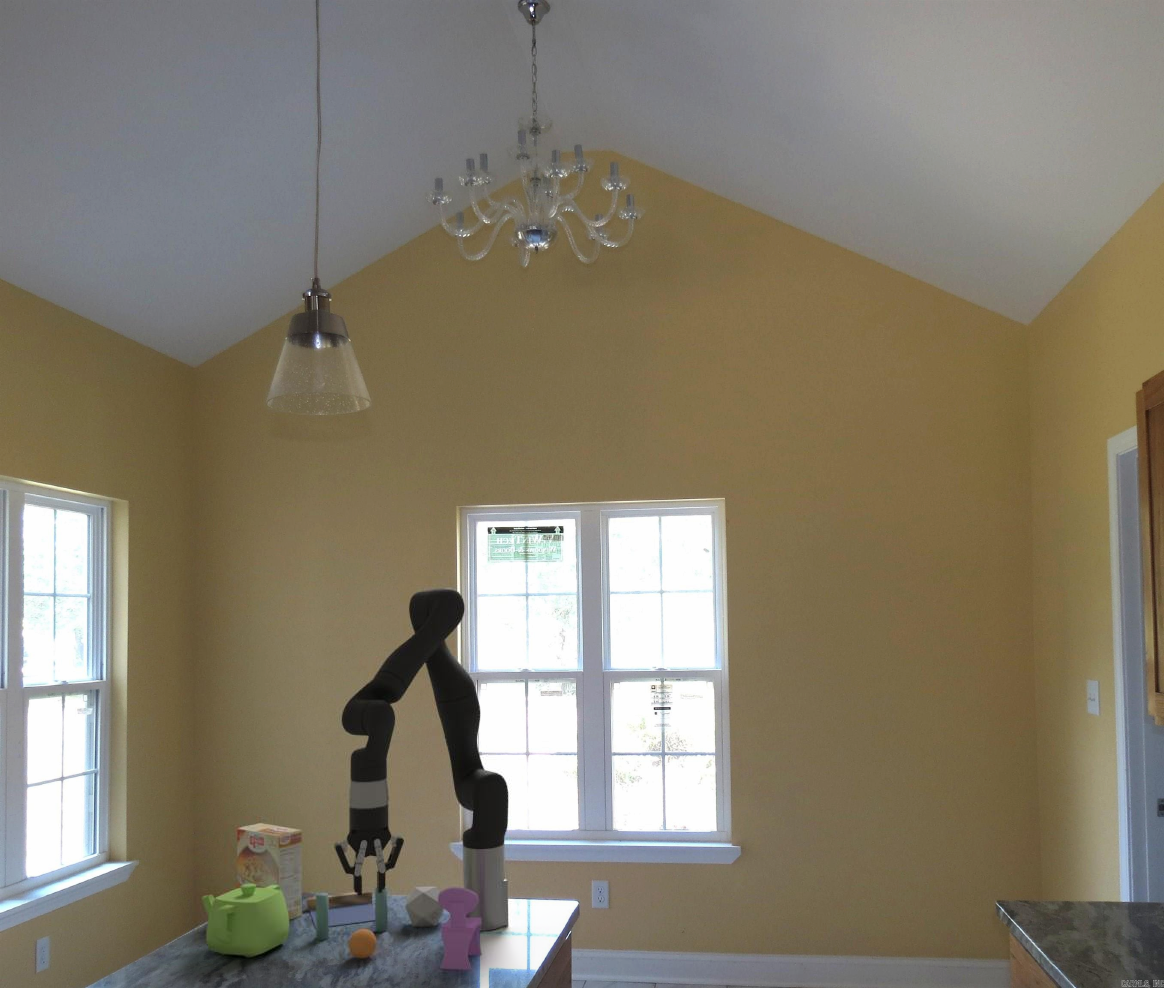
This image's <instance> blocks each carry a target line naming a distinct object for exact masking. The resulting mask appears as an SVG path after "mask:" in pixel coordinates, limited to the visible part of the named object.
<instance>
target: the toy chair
mask: <svg viewBox="0 0 1164 988" xmlns="http://www.w3.org/2000/svg"><path fill="white" fill-rule="evenodd" d="M439 892H440V893H439V895H438V903H439V904H440V906H441V907H443V908H444V910H446V912H448V913H449V915H450V917H449V919H448V920H447V921H446V922H445V923H444V924H443V925H442V926H441V934H440V936H441V940H442V943H443V946H444V954H443V958H442V962H441V964H440V966H439V969H442V970H444V969H445V970H464V971H465V970H466V971H468V970H472V966H471V964H470V960H469V956H483V952H482V949H481V945H480V940H479V939H480V936H479V935H480V929H481V926H482V922H481V917H472V918H466V915H467V914H468V913H470V912H471V911H473V910H474V908H475V907H476V906H477V904H478V901H479V898H478V895H477V894H476V893H475V892H473V891H471V890H469V889H466V888H463V887H461V886H460V887H459V886H458V887H456V886H455V887H449V888H448V887H447V888H445V889H443V890H442V891H439Z"/></svg>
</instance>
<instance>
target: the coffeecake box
mask: <svg viewBox="0 0 1164 988" xmlns="http://www.w3.org/2000/svg"><path fill="white" fill-rule="evenodd" d="M302 831H303V830H302V829H298V828H292V827H286V826H280V825H274V824H268V823H261V822H260V823H254V824H250V825H244V826H242V827H237V845H236V847H237V849H236V850H237V851H236V852H237V857H236V859H237V861H236V862H237V864H236V866H237V867H236V869H237V870H236V874H237V876H236V877H237V880H236V882H237V883H236V885H237V886H236V889H237V888H241V886H242V885H244V884H250V883H252V884H256V888H266V887H268V886H270V885H279V886H280V891H282V893H283V896H284V899H285V903H286V906H287V911H288V917H289V921H290V920H294V919H296V918H298V917H299V918H300V917H302V913H303V911H302V909H303V908H302V898H303V893H302V891H303V890H302V883H303V882H302V880H303V879H302V874H303V873H302V867H303V866H302V859H303V858H302V855H303V853H302V847H303V846H302V840H303V839H302V838H303V837H302V836H303V835H302Z"/></svg>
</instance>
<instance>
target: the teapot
mask: <svg viewBox="0 0 1164 988" xmlns="http://www.w3.org/2000/svg"><path fill="white" fill-rule="evenodd" d="M201 900H202V904H203V906H204V909H205V911H206V913H207V917H208V919H207V920H208V921H207V925H206V926H207V927H206V935H205V940H206V944H207V946H208V949H209V950H210V952H214V953H218V954H219V953H220V954H221V955H233V956H235V955H236V956H244V957H245V958H254V957H256V956H258V955H261V954H264V953H266V952H268V951H270V950H272V949H273V948H274V949H275V948H276V947H278V946H280V945H281V944H283V943H284V942H286V941H287V938H288V935H289V933H290V920H289V917H288V911H287V906H286V903H285V899H284V896H283V893H282V891H280V886H279V885H270V886H268V887H266V888H256V884H252V883H250V884H244V885H242V886H241V888H237V887H236V888H235V889H233V890H230V891H228V892H225V893H223V894H221V895H219V896H216V897H214V896H213V894H210V895H209V894H208V895H204V896H202V897H201Z"/></svg>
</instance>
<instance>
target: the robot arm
mask: <svg viewBox="0 0 1164 988" xmlns="http://www.w3.org/2000/svg"><path fill="white" fill-rule="evenodd" d="M464 601H465V600H464V598H463V596H462V595H461V593H460V592H459V591H458V590H456V589H455V588H451V587H441V588H433V589H427V590H421V591H418V592H416V593H414V594H413V595H412V596H411V598H410V599H409V605H408V614H409V619H410V622H411V626H412V629H413V632H414V634H413V635H411V637H409V638H408V639H407V640H405V642H403V643H402V644H401V645H399V646H398V647H397V648H396V649H395V650H394V651H392V652H391V653H390V654H389V656H388V657H387V658H386V659H385V660H384V662H383V664H382V665H381V666H380V667H379V669H378V671H377V672H376V673H375V675H374V677H373V678H372V679H371V680H370V681H369V682H367V683H366V684H365V685H364V686H363V687H362V688H360V690H358V692H356V693H355V694H354V695H353V696H352V697H351V698H350V699H349V700H348V701H347V703H346V705H345V706H344V708H343V710H342V714H341V726H342V728H343V729H344V731H345V732H346V733H347V734H350V735H352V736H360V737H361V736H365V737H368V738H367V741H366V745H365V746H364V747H360V748H357V749H355V750H353V752H352V753H351V754H350V764H349V765H350V783H349V793H348V797H349V800H348V802H349V805H348V806H349V807H348V808H349V810H348V814H349V817H348V818H349V819H348V821H349V822H348V823H349V825H348V826H349V828H348V829H349V831H348V834H347V836H346V839H344V840H342V841H340V842H334V844H333V847H334V850H335V852H336V854H337V857H338V860H339V862H340V864H341V866H342V869H343V871H344V873H345V874H346V875H352V876H353V882H352V883H353V887H352V888H353V890H354V891H353V892H355V893H357V895H358V896H360V895H362V891H363V876H362V874H361V873H362V869H363V868H362V867H363V864H364V861H365V860H364V859H365V858H368V857H374V858H375V861H376V866H377V871H376V887H377V892H378V893H382V890H383V889H385V887H386V886H387V885H386V873H387V871H389V870H393V869H395V866H396V864H397V861H398V859H399V856H400V853H401V851H402V848H403V845H404V842H405V840H404V838H403V837H402V836H401V835H397V836H396V835H394V834H392V833H391V831H390V828H389V826H390V825H389V801H390V796H389V786H388V785H389V784H388V768H387V767H388V764H387V759H388V755H389V754H388V753H389V749H390V745H391V741H392V737H393V733H394V730H395V725H396V715H395V714H396V713H395V711H394V707H393V706H392V704H395V703H398V702H399V701H400V700H402V698H403V697H404V695H405V694H406V692H407V690H408V688H410V685H411V684H412V682H413V680H415V677H416V676H417V674H418V673H419V671H420V670H421V669H422V668H423V666H424V665H425V666H426V670H427V673H428V676H429V680H430V683H431V687H432V692H433V696H434V702H435V705H436V709H437V713H438V717H439V719H440V723H441V726H442V731H443V736H444V739H445V744H446V747H447V750H448V751H447V752H448V756H449V760H450V761H449V762H450V767H451V775H452V781H453V786H454V787H453V788H454V792H455V793H454V794H455V797H456V799H457V801H458V803H459V805H460V806H461V807H463V808H464V809H465V810H468V811H471V812H472V822H471V827H470V828H468V829H466V830H464V831H463V833H462V878H463V879H462V881H463V883H462V885H463V887H462V888H466V889H469V890H471V891H473V892H475V893H476V894H477V895H478V898H479V901H478V904H477V906H476V907H475V908H474V910H473V911H471V912H470V913H468V914H467V915H466V918H472V917H481V922H482V926H481V929H480V931H492V930H493V931H494V930H497V929H500V928H502V927H504V926H509V925H510V924H509V884H508V883H509V882H508V879H506V865H505V864H506V863H505V859H506V858H505V857H506V856H505V835H506V834H507V830H508V823H509V788H508V783H507V781H506V779H505V777H504V776H503V775H501V774H500V773H498V772H494V771H491V770H485V768H484V765H483V762H482V759H481V755H480V752H479V746H478V734H479V729H480V723H481V706H480V702H479V701H480V700H479V697H478V694H477V690H476V689H477V688H476V686H475V683H474V681H473V679H472V677H471V676H470V674H469V673H468V671H466V669H465V668H464V666H463V665H462V664H461V663H460V662H459V661H458V659H456V657H455V656H454V655H453V653H452V652H451V651H450V649H449V647H448V645H447V642H446V639H447V638H448V637H449V636H450V635H452V633H453V632H454V631H455V630H456V629H457V627H458V626H459V625H460V624H461V622H462V620H463V618H464V616H465V602H464ZM389 842H390V846H391V850H390V852H389V855H388V857H387V861H385V858H384V854H383V851H384V850H385V849H386V847H387V845H388V844H389ZM348 846H350V848H351V849H352V850H353V852H354V853H355V855H354V859H353V860H354V862H353V865H350V863H349V861H348V858H347V856H346V853H347V852H348Z"/></svg>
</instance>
